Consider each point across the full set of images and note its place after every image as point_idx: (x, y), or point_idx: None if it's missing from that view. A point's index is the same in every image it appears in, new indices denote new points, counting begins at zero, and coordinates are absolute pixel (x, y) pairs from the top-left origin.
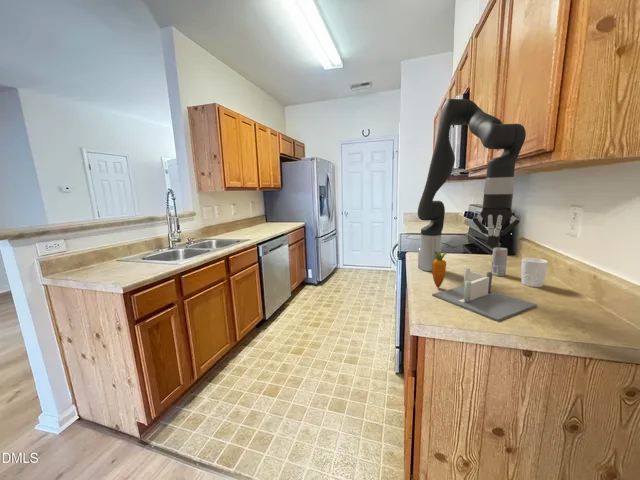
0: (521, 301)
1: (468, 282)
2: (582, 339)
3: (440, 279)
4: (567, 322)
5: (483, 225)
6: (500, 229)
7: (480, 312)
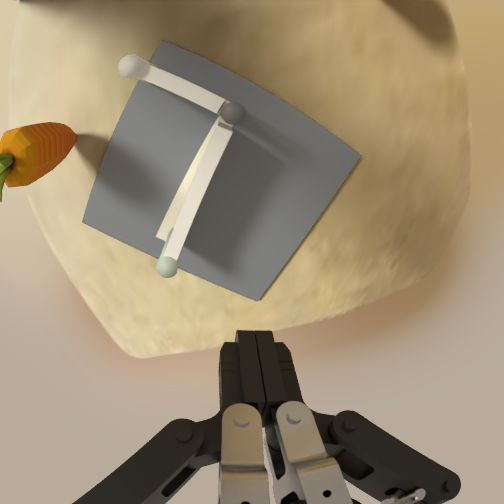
0: (327, 146)
1: (169, 274)
2: (379, 292)
3: (64, 157)
4: (388, 231)
5: (161, 488)
6: (318, 456)
7: (220, 284)
